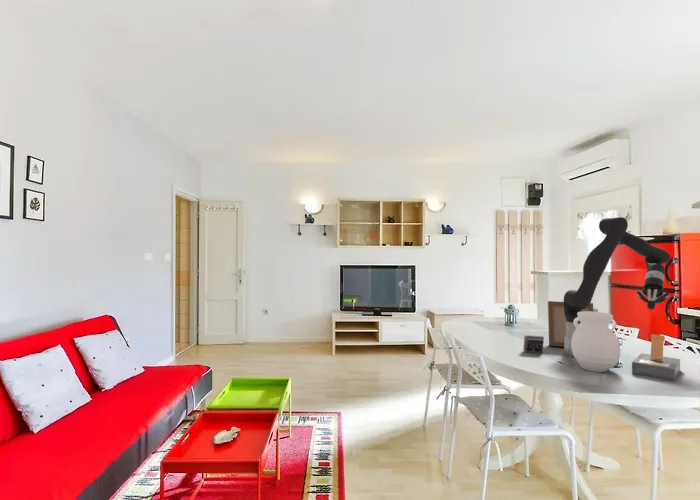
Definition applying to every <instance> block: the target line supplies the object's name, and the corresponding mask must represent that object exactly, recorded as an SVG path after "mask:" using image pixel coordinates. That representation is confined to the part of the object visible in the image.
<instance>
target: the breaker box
mask: <svg viewBox="0 0 700 500" xmlns="http://www.w3.org/2000/svg"><path fill="white" fill-rule="evenodd" d="M650 357H651V354H647V353H642V352H640V353H639V354H638V355H637V356H636V358H634V360H633V361H631V374H633V375H638V376H643V377H647V378H654V379H659V380H663V381H664V380H665V381H671V382H676V380H677V378H678V375H679V374H680V371H681V358H676V357H675V358H674V357H667V356H663V361H661V360H655V359H651V358H650Z"/></svg>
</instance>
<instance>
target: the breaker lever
mask: <svg viewBox="0 0 700 500" xmlns="http://www.w3.org/2000/svg"><path fill="white" fill-rule="evenodd" d="M650 339H651V341H650V342H651V344H650V355H651V357H650V358H651V359H655V360H661V361H663V357H664V345H665V342H666V336H665V335H662V334H661V335H659V334H652V333H650Z"/></svg>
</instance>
